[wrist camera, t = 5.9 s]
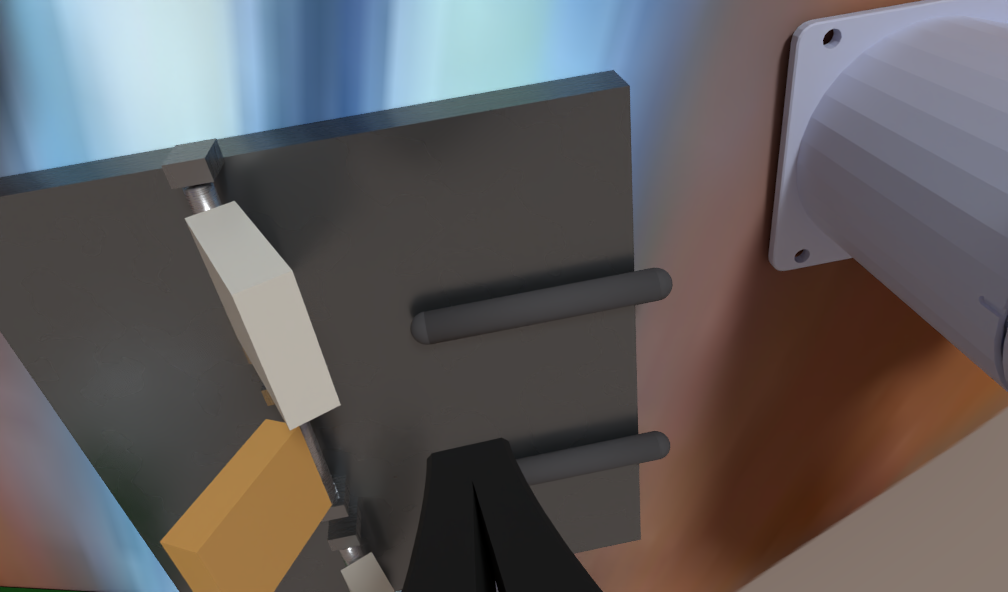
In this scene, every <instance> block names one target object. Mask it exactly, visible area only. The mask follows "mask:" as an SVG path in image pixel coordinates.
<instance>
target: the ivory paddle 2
mask: <svg viewBox="0 0 1008 592" xmlns="http://www.w3.org/2000/svg"><path fill="white" fill-rule="evenodd" d="M341 573H342V575H343V577H344V579H345V582H346V584H347V586H348V588H349V591H350V592H395V591H394V589H393V588H392V586H391V584H390V582H389V581H388V579H387V577H386V576H385V574H384V572H383V571H382V569H381V567H380V565H379V564H378V562H377V560H376V559H375V557H374V555H373V553H372V552H370V553H369V554H367V555H365V556H364V557H362V558H361V559H359V560H357V561H356V562H354V563H352V564H351V565H349V566H347V567H346V568H344V569H342V570H341Z"/></svg>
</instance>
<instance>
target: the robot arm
mask: <svg viewBox="0 0 1008 592" xmlns="http://www.w3.org/2000/svg"><path fill="white" fill-rule="evenodd" d="M832 29H833V32H834V35H833V37H832V39H831V41H830V42H829V43H827V44H825V45H823V39H824V36H825V34H826V33H827V32H828V31H829V30H832ZM802 249H804V250H803V252H802V253H801V254H800V255H799V256H797V257H795V255H796V253H797V252H798V251H800V250H802ZM768 258H769V262H770V263H771V265H772V266H773V267H774V268H775V269H777V270H779V271H787V270H792V269H798V268H803V267H808V266H813V265H818V264H824V263H829V262H834V261H839V260H844V259H849V258H854V259H855V260H856V261H857V262H858V263H859V264H861V265H862V266H863V267H864V268H865V269H866V270H868V271H869V272H870V273H871V274H872V275H873V276H874V277H876V278H877V279H878V280H879V281H880V282H881V283H883V284H884V285H885V286H886V287H887V288H888V289H889V290H891V291H892V292H893V293H894V294H895V295H896V296H898V297H899V298H900V299H901V300H902V301H903V302H904V303H906V304H907V305H908V306H909V307H910V308H911V309H913V310H914V311H915V312H916V313H917V314H918V315H919V316H921V317H922V318H923V319H924V320H925V321H926V322H928V323H929V324H930V325H931V326H932V327H933V328H934V329H936V330H937V331H938V332H939V333H940V334H941V335H943V336H944V337H945V338H946V339H947V340H948V341H949V342H951V343H952V344H953V345H954V346H955V347H956V348H958V349H959V350H960V351H961V352H962V353H963V354H965V355H966V356H967V357H968V358H969V359H970V360H971V361H973V362H974V363H975V364H976V365H977V366H978V367H980V368H981V369H982V370H983V371H984V372H985V373H986V374H988V375H989V376H990V377H991V378H992V379H993V380H995V381H996V382H997V383H998V384H999V385H1000V386H1001V387H1003V388H1004V389H1005V390H1006V391H1007V392H1008V0H923V1H918V2H912V3H906V4H900V5H895V6H889V7H883V8H877V9H872V10H866V11H860V12H854V13H849V14H843V15H837V16H831V17H826V18H820V19H814V20H809V21H807V22H804V23H803V24H802V25H800V26H799V27H798V28H797V29H796V31H795V32H794V34H793V37H792V40H791V47H790V56H789V66H788V75H787V84H786V94H785V103H784V113H783V122H782V132H781V141H780V151H779V160H778V169H777V179H776V188H775V198H774V207H773V217H772V226H771V236H770V245H769V254H768ZM495 580H496V584H497V587H498V591H499V592H603V591H602V590H601V589H600V588H599V586H598V585H597V584H596V583H595V582H594V580H593V579H592V578H591V576H590V575H589V574H588V572H587V571H586V570H585V568H584V567H583V566H582V565H581V563H580V562H579V561H578V559H577V558H576V557H575V555H574V554H573V552H572V551H571V550H570V548H569V547H568V545H567V544H566V543H565V541H564V540H563V538H562V537H561V535H560V534H559V532H558V531H557V529H556V528H555V526H554V525H553V523H552V522H551V520H550V519H549V517H548V516H547V514H546V513H545V511H544V510H543V508H542V507H541V505H540V503H539V502H538V500H537V498H536V497H535V495H534V493H533V491H532V490H531V488H530V486H529V484H528V483H527V481H526V479H525V477H524V475H523V473H522V471H521V469H520V467H519V465H518V463H517V461H516V459H515V456H514V454H513V452H512V449H511V446H510V443H509V441H507V440H506V439H504V438H498V439H493V440H489V441H484V442H479V443H475V444H470V445H466V446H461V447H457V448H452V449H448V450H443V451H439V452H434V453H432V454H431V455H430V456H429V457H428V458H427V466H426V480H425V489H424V496H423V502H422V508H421V513H420V519H419V524H418V529H417V533H416V537H415V542H414V546H413V550H412V554H411V559H410V563H409V567H408V571H407V575H406V578H405V582H404V585H403V588H402V592H496V584H495Z"/></svg>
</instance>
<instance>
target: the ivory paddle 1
mask: <svg viewBox="0 0 1008 592" xmlns="http://www.w3.org/2000/svg"><path fill="white" fill-rule="evenodd" d="M185 221H186V223H187V225H188V227H189V230H190V232H191V234H192V236H193V239H194V241H195V243H196V245H197V248H198V250H199V252H200V254H201V257H202V259H203V261H204V263H205V266H206V268H207V270H208V272H209V275H210V277H211V279H212V281H213V284H214V286H215V288H216V291H217V293H218V295H219V297H220V300H221V302H222V304H223V306H224V309H225V311H226V313H227V315H228V318H229V320H230V322H231V324H232V327H233V329H234V331H235V333H236V336H237V338H238V340H239V341H240V343H241V345H242V347H243V349H244V350H245V352H246V354H247V356H248V357H249V359H250V361H251V363H252V364H253V366H254V368H255V370H256V371H257V373H258V375H259V377H260V379H261V380H262V382H263V384H264V386H265V387H266V389H267V391H268V393H269V394H270V396H271V398H272V400H273V401H274V403H275V405H276V407H277V409H278V410H279V412H280V414H281V416H282V417H283V419H284V421H285V423H286V424H287V426H288V428H289V430H292V429H294V428H296V427H298V426H300V425H302V424H304V423H306V422H308V421H310V420H312V419H314V418H316V417H318V416H320V415H322V414H324V413H326V412H328V411H330V410H332V409H334V408H336V407H338V406H340V405H341V404H340V402H339V399H338V396H337V393H336V390H335V388H334V385H333V382H332V379H331V377H330V374H329V371H328V368H327V365H326V363H325V360H324V357H323V354H322V352H321V349H320V346H319V343H318V340H317V338H316V335H315V332H314V329H313V327H312V324H311V321H310V318H309V315H308V313H307V310H306V307H305V304H304V302H303V299H302V296H301V293H300V290H299V288H298V285H297V282H296V279H295V277H294V274H293V271H292V270H291V268H290V267H289V266H288V265H287V263H286V262H285V261H284V260H283V259H282V257H281V256H280V255H279V254H278V253H277V251H276V250H275V249H274V248H273V247H272V245H271V244H270V243H269V242H268V240H267V239H266V238H265V237H264V236H263V234H262V233H261V232H260V231H259V230H258V228H257V227H256V226H255V225H254V224H253V222H252V221H251V220H250V219H249V218H248V216H247V215H246V214H245V213H244V211H243V210H242V209H241V208H240V207H239V205H238V204H237V203H236V202H235V201H233V202H230V203H227V204H224V205H221V206H218V207H215V208H212V209H210V210H207V211H204V212H201V213H198V214H195V215H192V216H189V217H187V218H185Z"/></svg>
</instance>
